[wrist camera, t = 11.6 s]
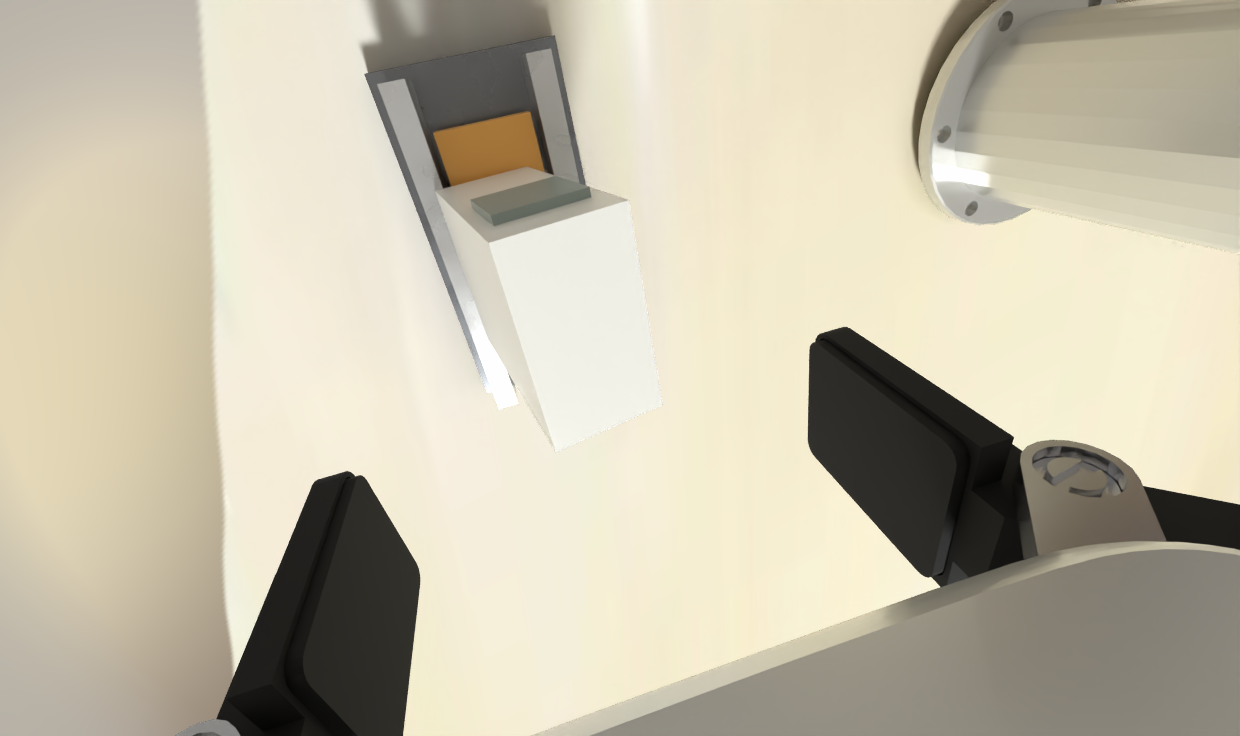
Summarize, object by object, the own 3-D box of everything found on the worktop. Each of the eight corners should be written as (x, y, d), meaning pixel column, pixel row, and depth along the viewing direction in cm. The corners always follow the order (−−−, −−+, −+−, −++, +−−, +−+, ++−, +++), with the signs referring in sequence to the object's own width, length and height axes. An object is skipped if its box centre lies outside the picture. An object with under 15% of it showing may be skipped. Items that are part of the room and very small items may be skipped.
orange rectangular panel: (527, 110, 22) (530, 112, 21) (582, 334, 28) (586, 342, 27) (434, 131, 21) (433, 133, 20) (510, 354, 27) (511, 363, 26)
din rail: (551, 37, 23) (565, 29, 19) (616, 346, 31) (633, 376, 28) (368, 74, 22) (351, 72, 18) (486, 384, 30) (488, 420, 27)
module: (524, 159, 22) (627, 188, 14) (564, 311, 26) (662, 404, 18) (432, 183, 21) (484, 231, 13) (488, 339, 24) (555, 452, 16)
